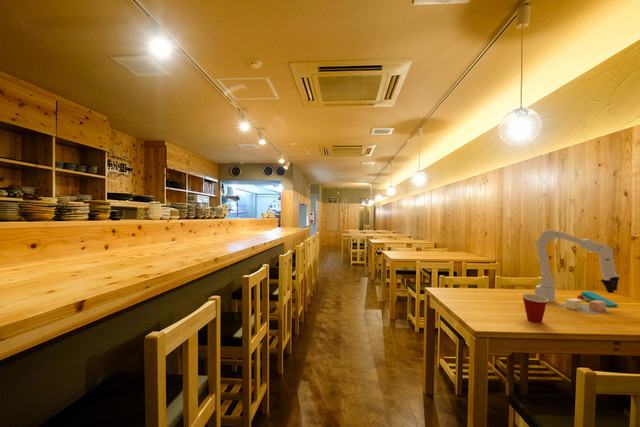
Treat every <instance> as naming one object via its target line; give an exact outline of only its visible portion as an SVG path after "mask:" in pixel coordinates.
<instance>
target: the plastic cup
mask: <svg viewBox="0 0 640 427" xmlns="http://www.w3.org/2000/svg"><path fill="white" fill-rule="evenodd" d="M521 297H522V299H523V304H524V309H525V314H526V318H527V321H529V322H532V323H538V324H539V323H541V324H542V323H543V319H544V315H545V311H546V306H547V304H548V301H549V300H548V299H547V298H545V297H542V296H539V295H535V294H533V293H522V294H521Z"/></svg>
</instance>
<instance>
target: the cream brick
mask: <svg viewBox="0 0 640 427" xmlns="http://www.w3.org/2000/svg"><path fill="white" fill-rule="evenodd" d="M565 303H566V309H569V308H570V310H573V309H580V308H582V304H583V299H578V298H575V297H573V298H566V299H565Z"/></svg>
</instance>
